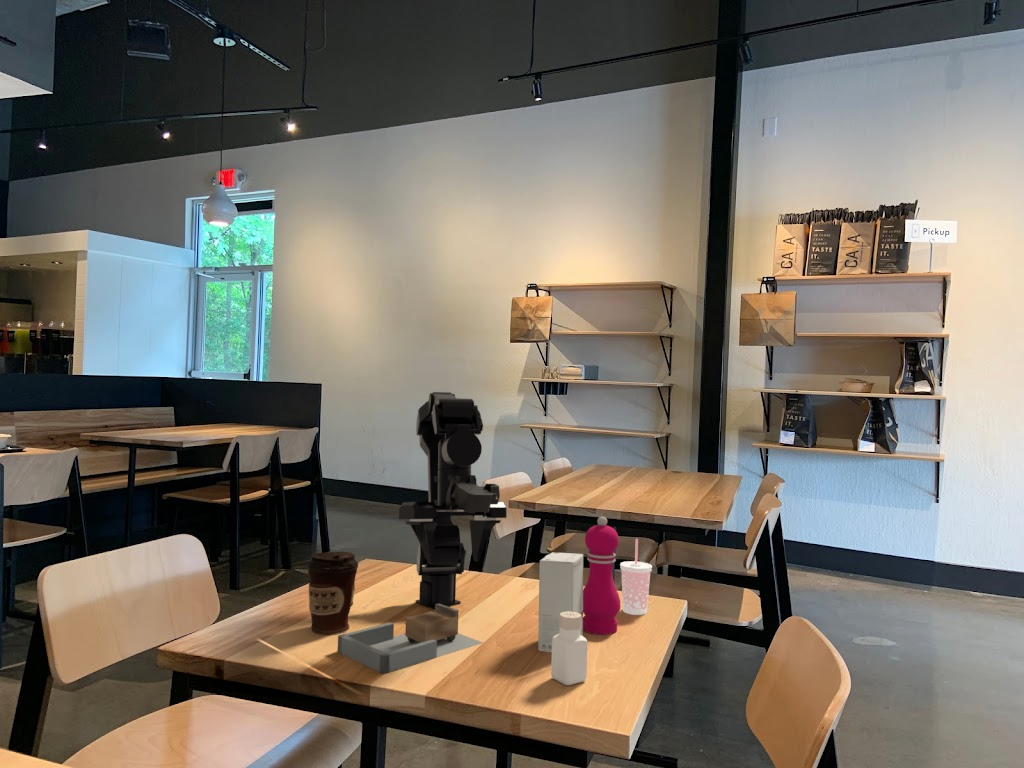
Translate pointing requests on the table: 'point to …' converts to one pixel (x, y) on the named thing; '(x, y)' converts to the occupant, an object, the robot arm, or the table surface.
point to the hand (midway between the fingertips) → (454, 562)
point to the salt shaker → (569, 651)
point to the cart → (433, 625)
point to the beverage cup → (635, 585)
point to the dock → (395, 648)
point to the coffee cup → (331, 591)
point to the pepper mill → (601, 581)
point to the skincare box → (558, 593)
